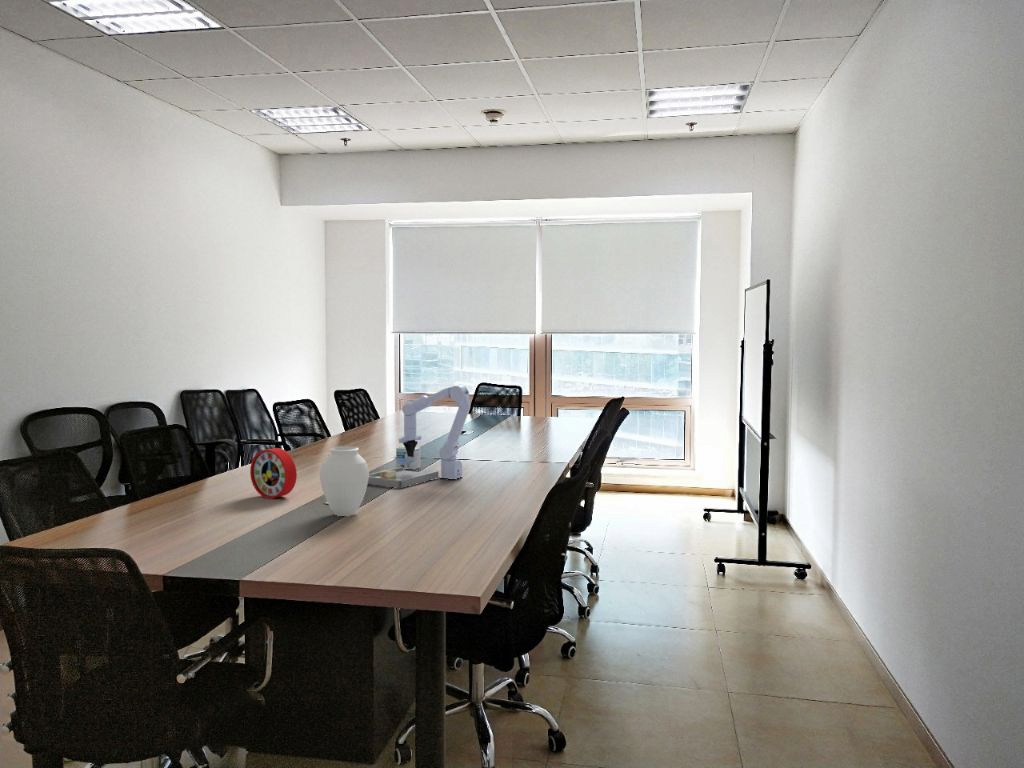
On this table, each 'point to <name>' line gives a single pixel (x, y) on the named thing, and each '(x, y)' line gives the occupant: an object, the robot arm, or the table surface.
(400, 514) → the table surface
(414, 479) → the grey tray
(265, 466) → the toy clock
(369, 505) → the table surface
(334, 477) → the vase
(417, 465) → the light bulb box
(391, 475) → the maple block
